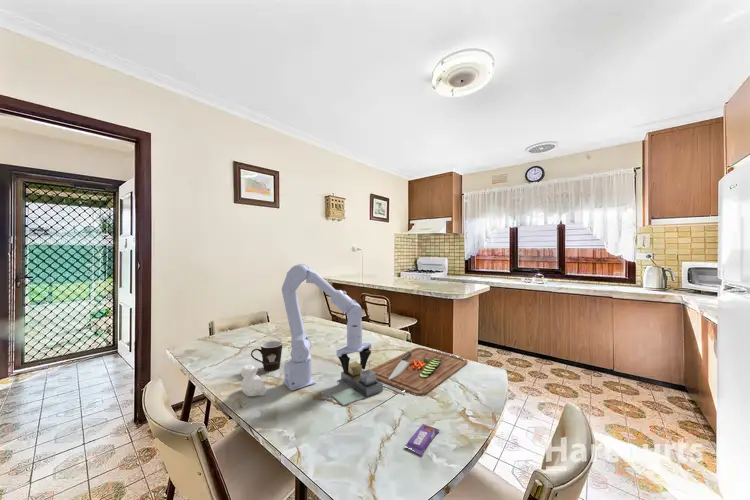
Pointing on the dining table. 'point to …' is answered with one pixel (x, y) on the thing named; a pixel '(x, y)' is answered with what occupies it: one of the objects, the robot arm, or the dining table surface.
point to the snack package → (422, 438)
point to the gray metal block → (367, 378)
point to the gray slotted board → (361, 388)
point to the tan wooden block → (354, 369)
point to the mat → (347, 396)
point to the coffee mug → (270, 355)
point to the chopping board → (418, 370)
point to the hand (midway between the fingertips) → (354, 371)
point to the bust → (252, 382)
